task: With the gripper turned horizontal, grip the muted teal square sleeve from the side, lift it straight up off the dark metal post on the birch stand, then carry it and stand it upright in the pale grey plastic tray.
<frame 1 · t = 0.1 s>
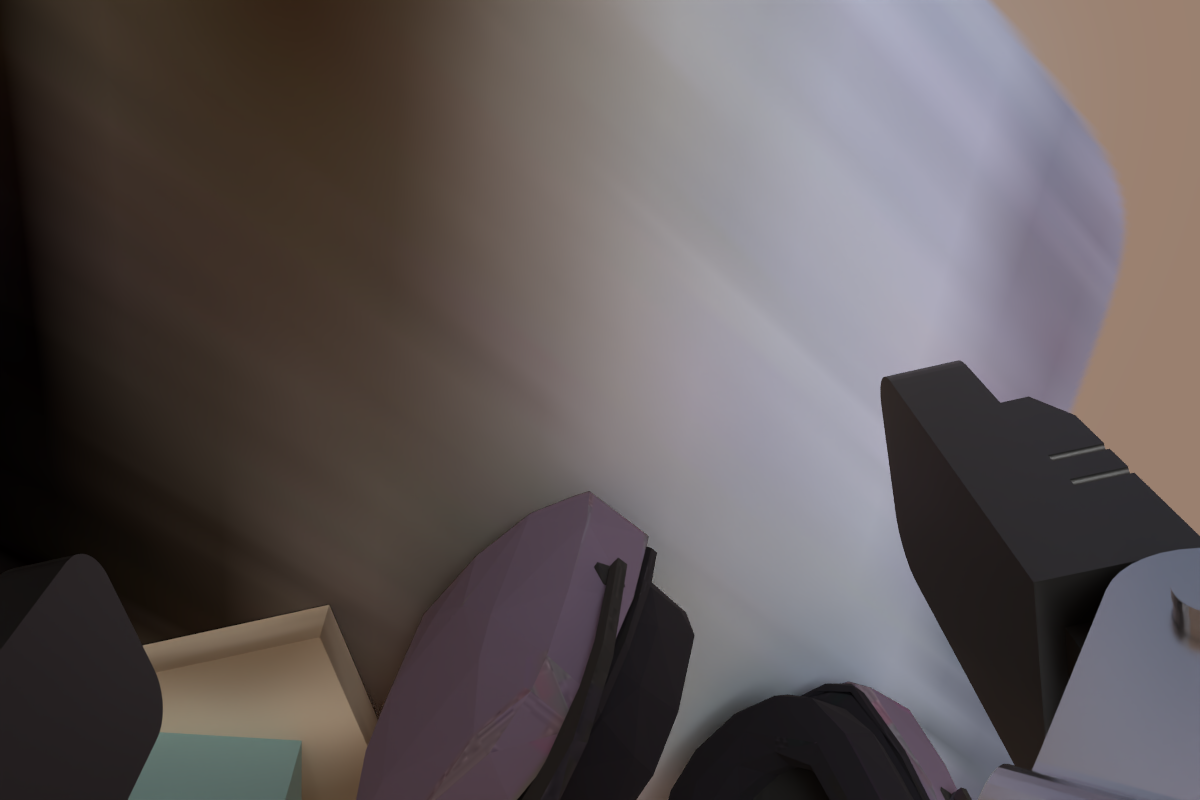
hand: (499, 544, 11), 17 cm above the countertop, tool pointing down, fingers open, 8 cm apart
headphones: (662, 659, 34), on the countertop
sleeve: (218, 797, 33), point 1 cm above the countertop, touching stand
stand: (231, 761, 34), on the countertop
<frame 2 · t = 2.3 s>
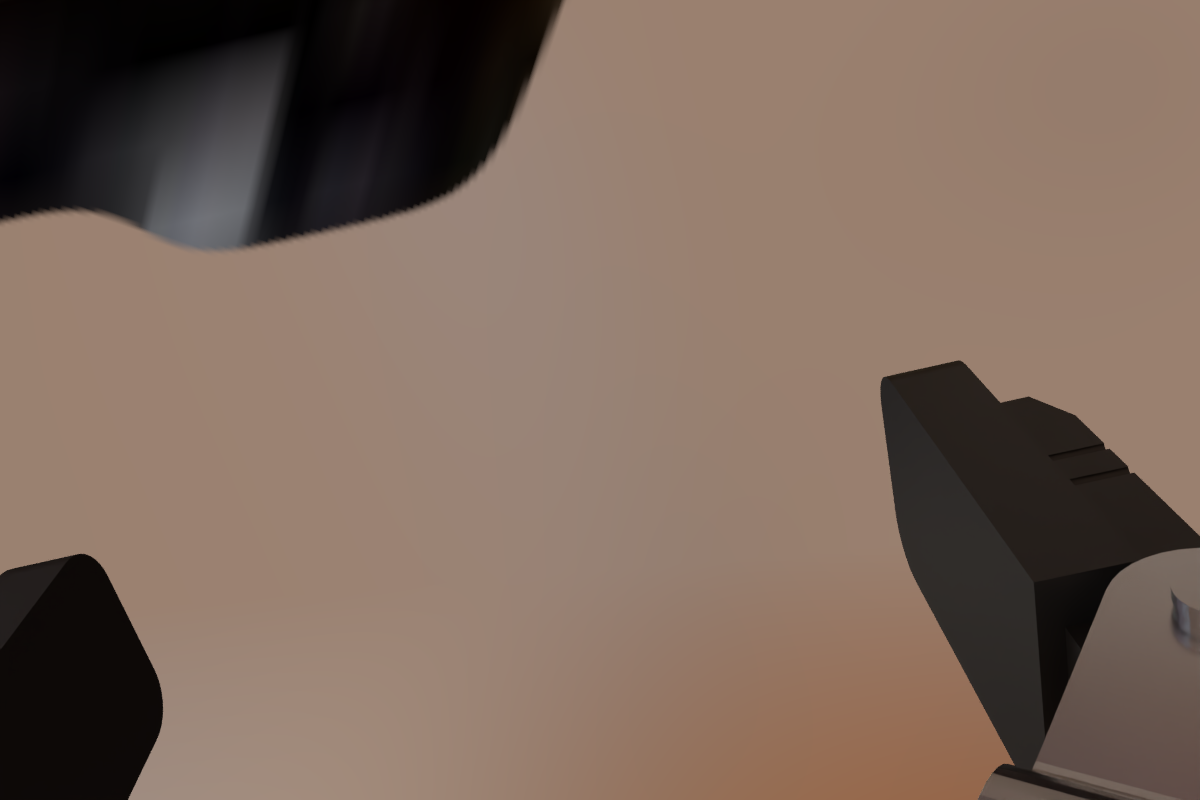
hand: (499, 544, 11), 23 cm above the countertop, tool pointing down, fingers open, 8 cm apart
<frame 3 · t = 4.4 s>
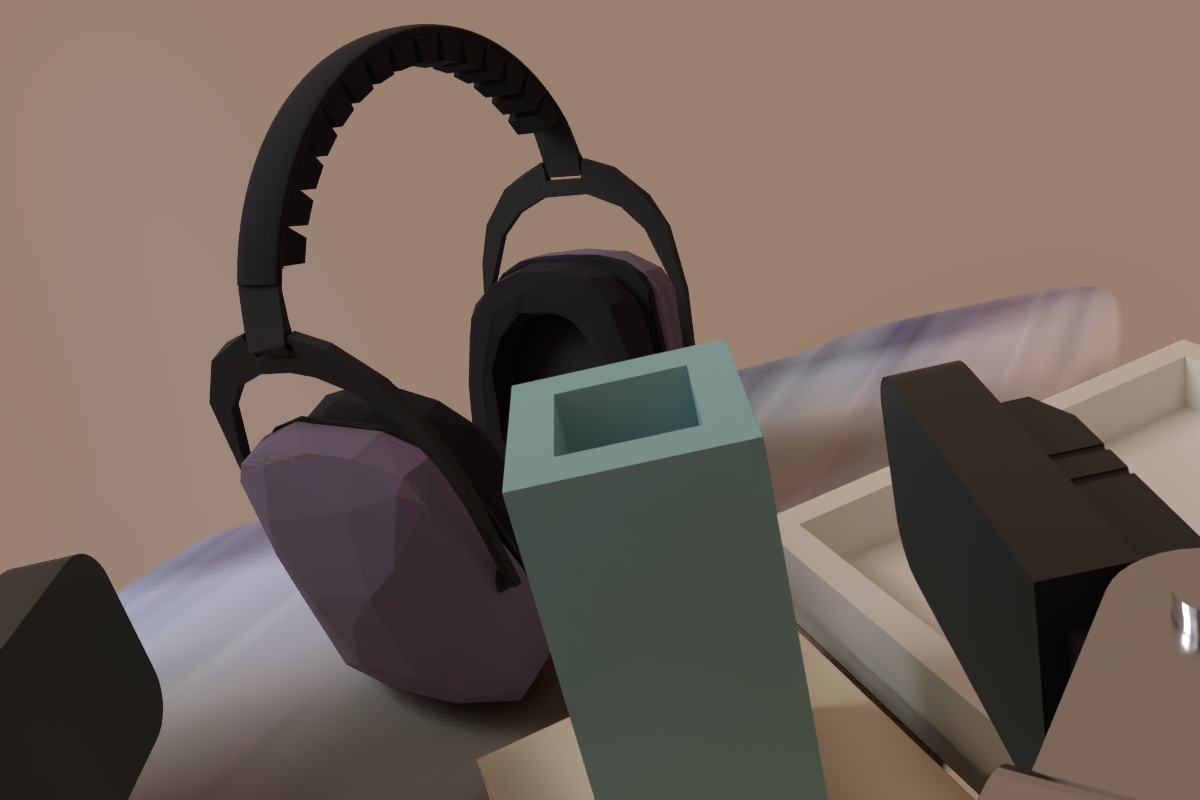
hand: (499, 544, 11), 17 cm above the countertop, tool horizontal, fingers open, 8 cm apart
tray: (1121, 576, 33), on the countertop
headphones: (543, 590, 40), on the countertop
sleeve: (716, 795, 27), point 1 cm above the countertop, touching stand
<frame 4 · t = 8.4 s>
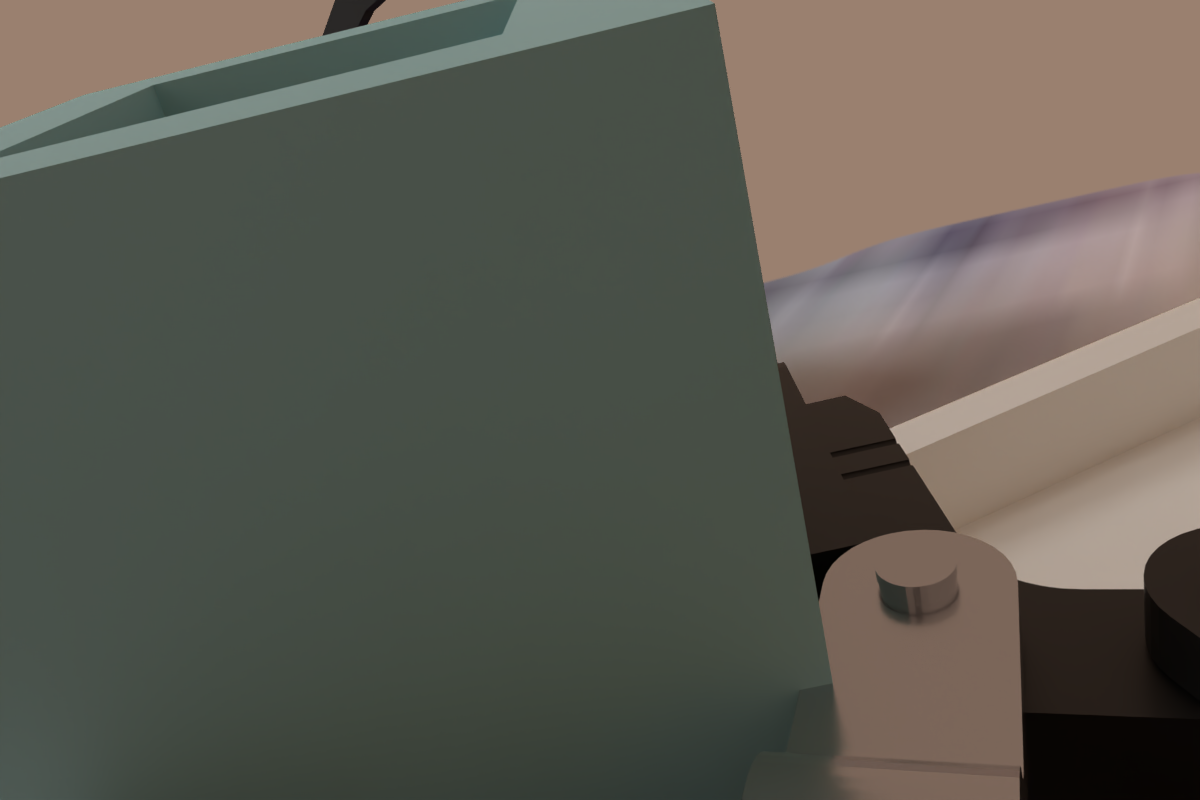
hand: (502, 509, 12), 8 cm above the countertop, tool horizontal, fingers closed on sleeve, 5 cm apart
headphones: (399, 609, 25), on the countertop
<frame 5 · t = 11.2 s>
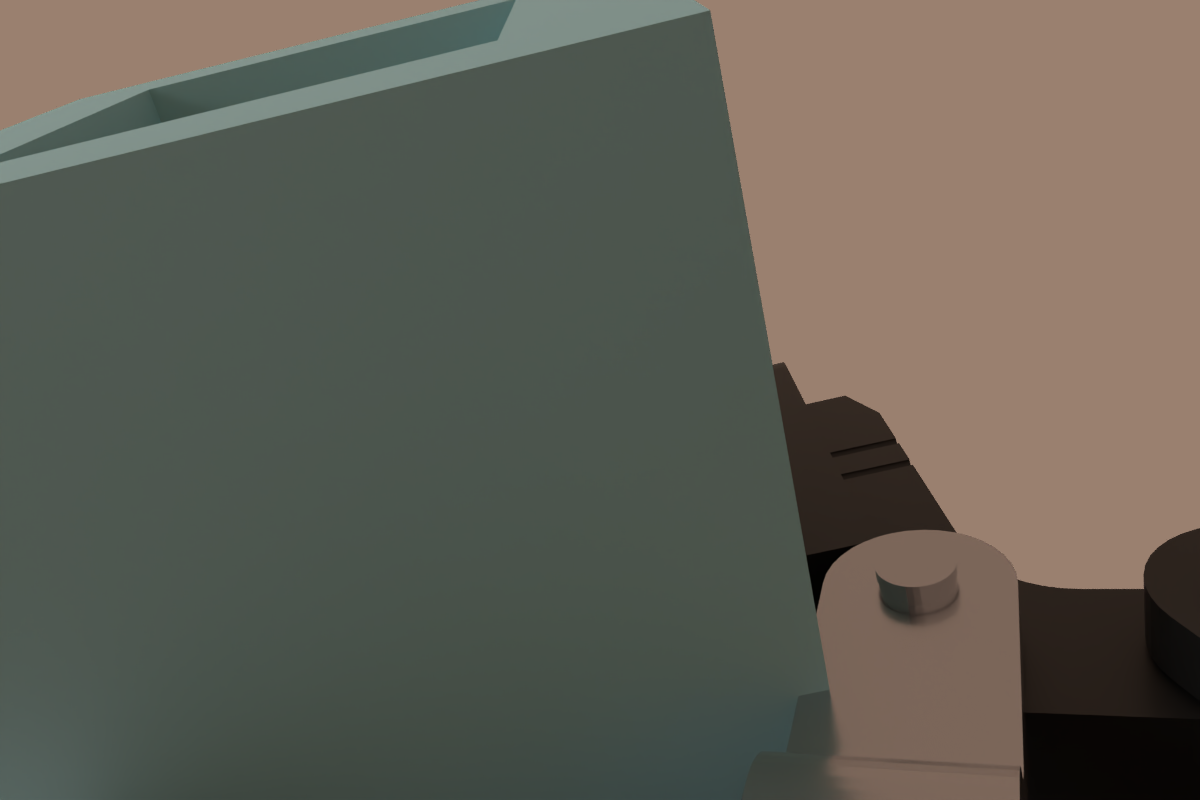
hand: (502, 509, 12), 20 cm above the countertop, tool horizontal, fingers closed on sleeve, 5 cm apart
when the fingers open (8 cm above the countertop, at t = 14.1 s): sleeve drops 1 cm, resting on tray.
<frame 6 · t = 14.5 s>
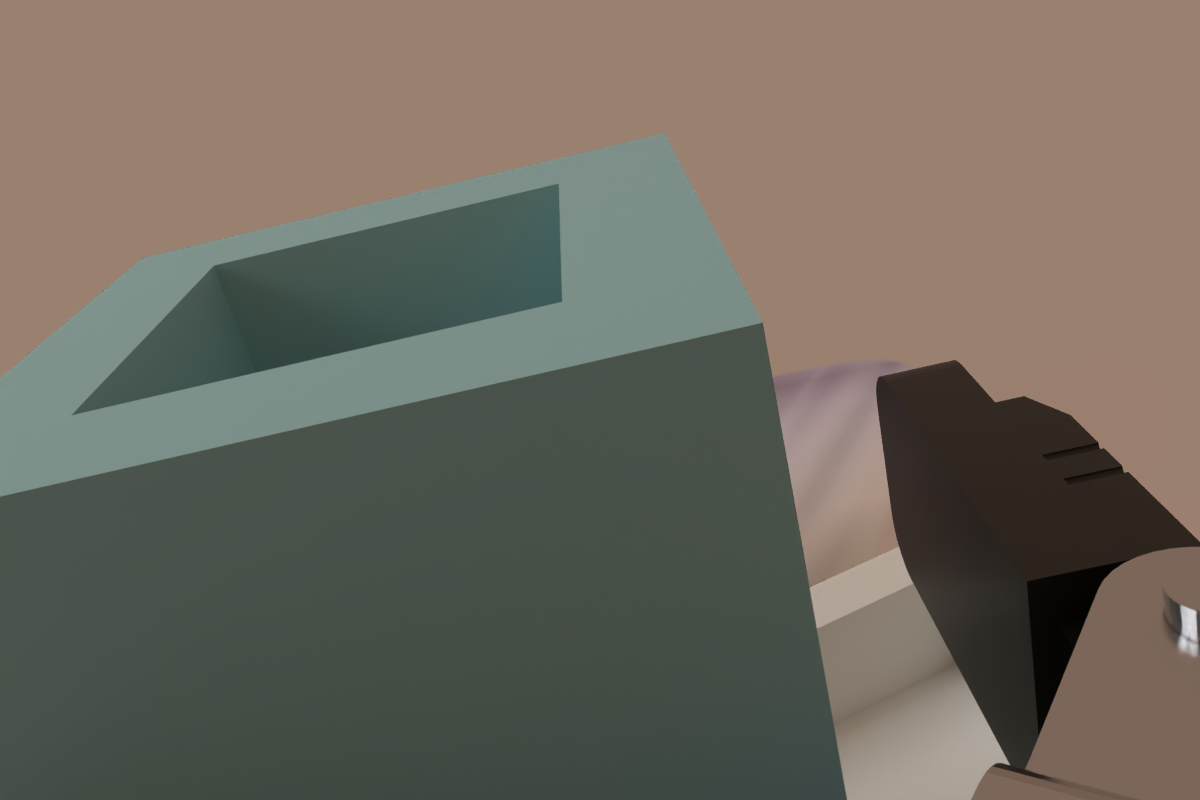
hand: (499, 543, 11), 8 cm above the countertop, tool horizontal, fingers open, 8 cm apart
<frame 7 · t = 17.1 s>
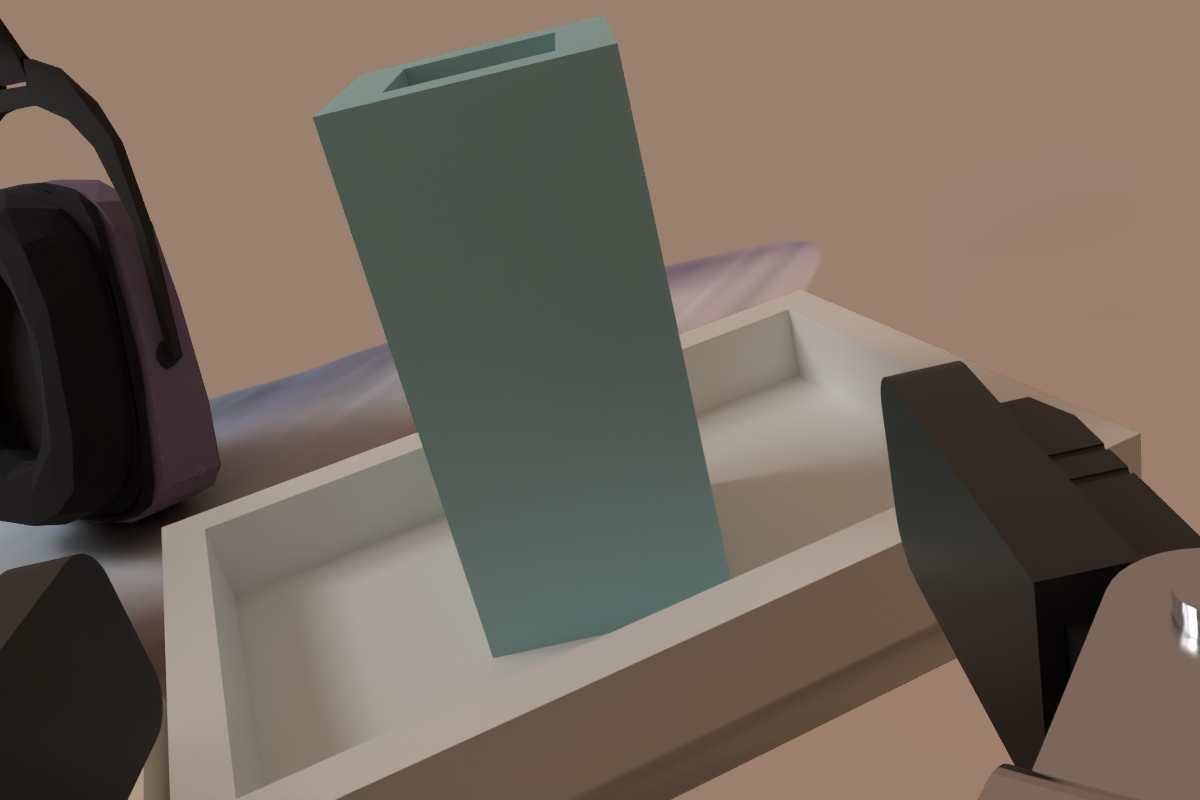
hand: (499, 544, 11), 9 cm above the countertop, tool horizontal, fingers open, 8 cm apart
tray: (618, 599, 24), on the countertop
sleeve: (608, 563, 24), point 1 cm above the countertop, touching tray
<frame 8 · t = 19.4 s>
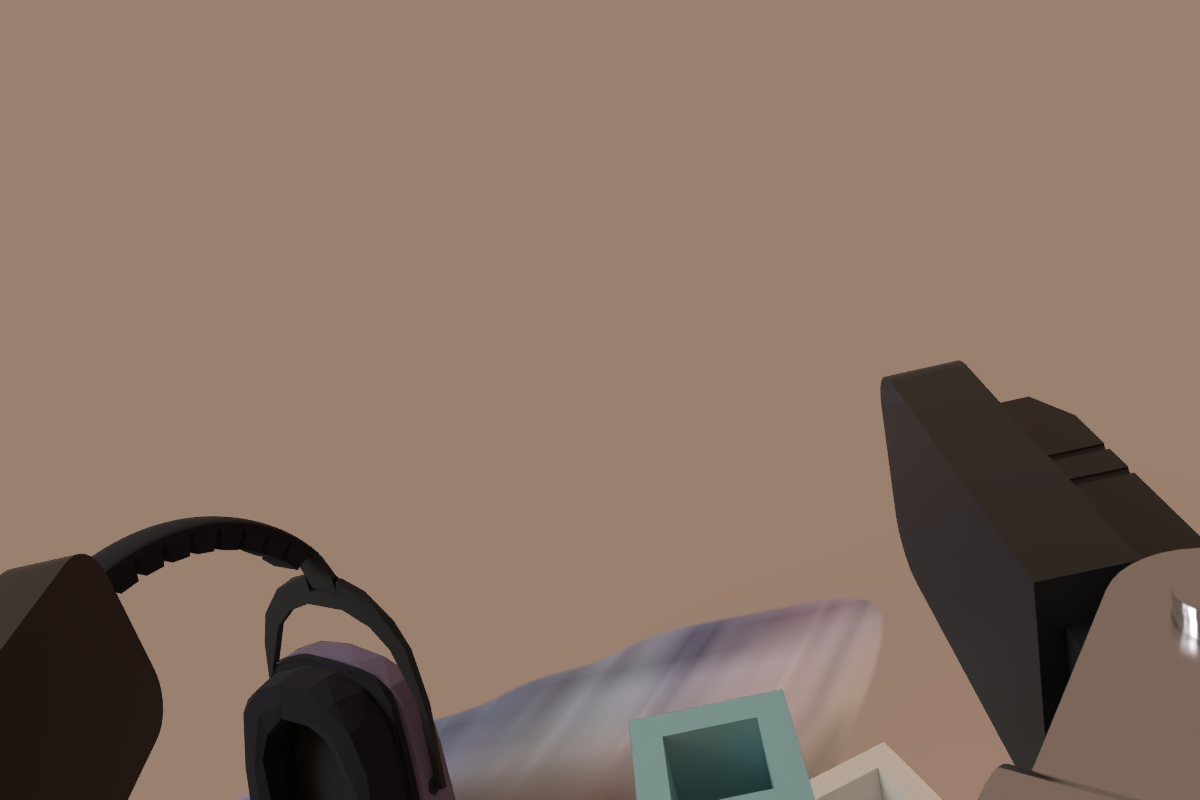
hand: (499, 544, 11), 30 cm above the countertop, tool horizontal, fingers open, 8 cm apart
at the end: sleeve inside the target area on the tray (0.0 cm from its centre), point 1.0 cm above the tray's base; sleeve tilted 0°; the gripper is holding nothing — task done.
